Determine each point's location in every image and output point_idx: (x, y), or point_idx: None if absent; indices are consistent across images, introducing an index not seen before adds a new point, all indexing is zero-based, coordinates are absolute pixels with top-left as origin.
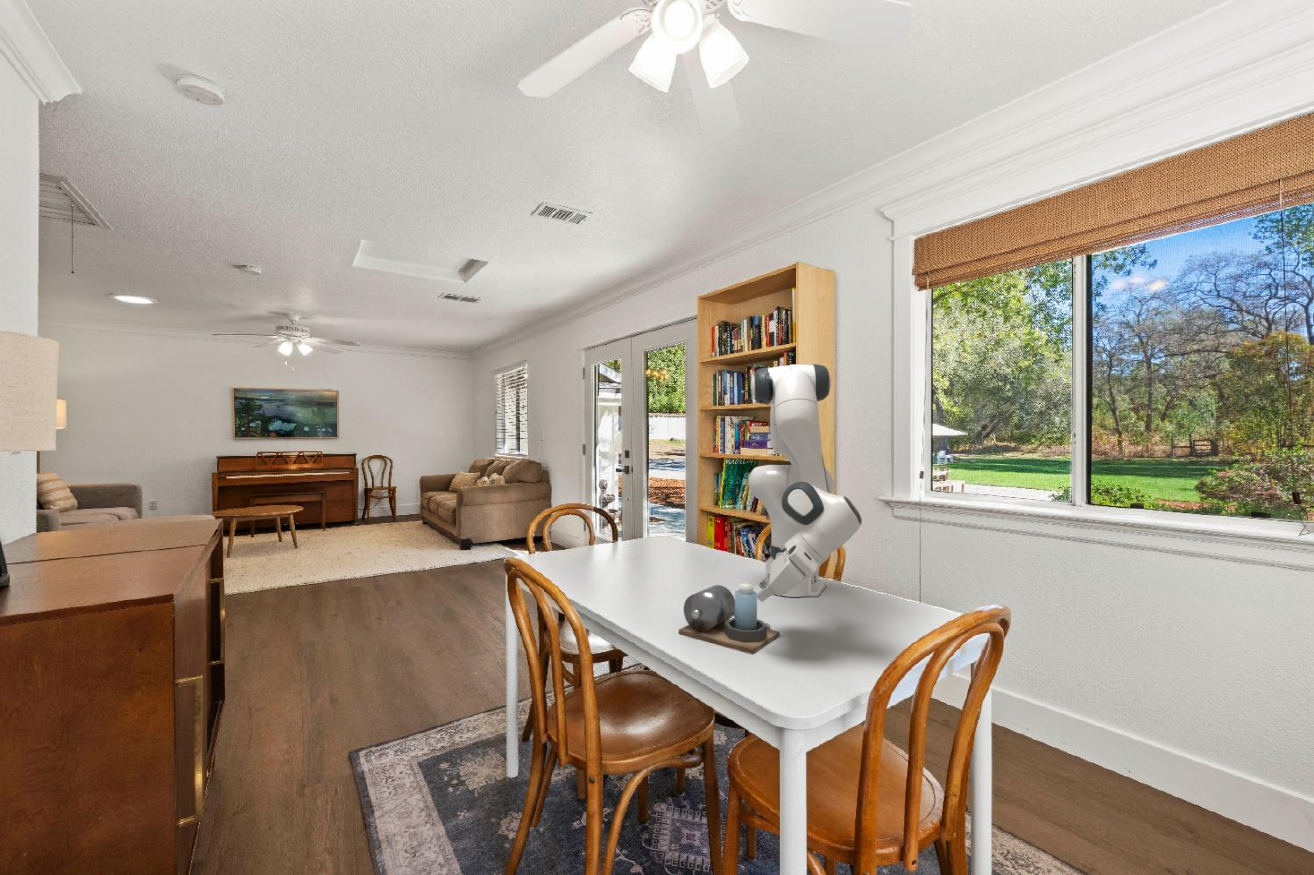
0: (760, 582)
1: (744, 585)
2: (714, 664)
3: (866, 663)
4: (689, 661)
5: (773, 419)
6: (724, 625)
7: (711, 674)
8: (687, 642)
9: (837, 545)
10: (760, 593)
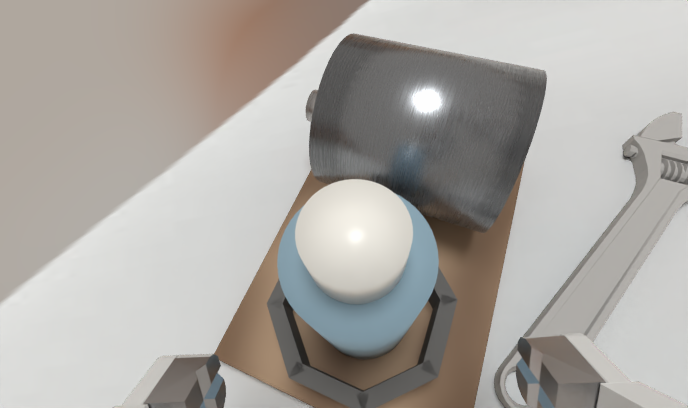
0: (556, 350)
1: (322, 220)
2: (133, 246)
3: None
4: (154, 181)
5: None
6: (435, 219)
7: (67, 250)
8: (285, 148)
9: None
10: (135, 387)
